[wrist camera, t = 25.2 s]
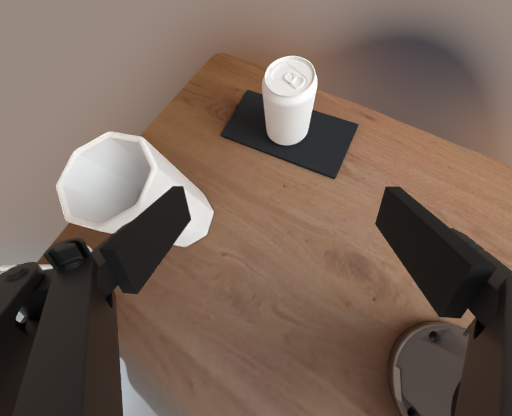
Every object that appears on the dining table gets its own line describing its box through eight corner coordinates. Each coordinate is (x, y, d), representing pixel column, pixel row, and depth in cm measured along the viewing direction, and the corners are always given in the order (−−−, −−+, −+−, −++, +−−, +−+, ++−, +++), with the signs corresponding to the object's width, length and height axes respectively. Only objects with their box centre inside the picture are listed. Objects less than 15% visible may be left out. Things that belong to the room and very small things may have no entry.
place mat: (357, 126, 39) (358, 124, 39) (334, 179, 37) (335, 177, 37) (247, 91, 45) (247, 89, 44) (221, 136, 42) (220, 134, 42)
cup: (145, 223, 39) (33, 189, 21) (183, 179, 41) (109, 112, 23) (186, 260, 36) (97, 255, 19) (226, 210, 38) (178, 163, 20)
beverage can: (285, 105, 42) (287, 44, 30) (316, 126, 40) (331, 70, 28) (258, 131, 41) (249, 79, 29) (288, 155, 39) (291, 108, 27)
